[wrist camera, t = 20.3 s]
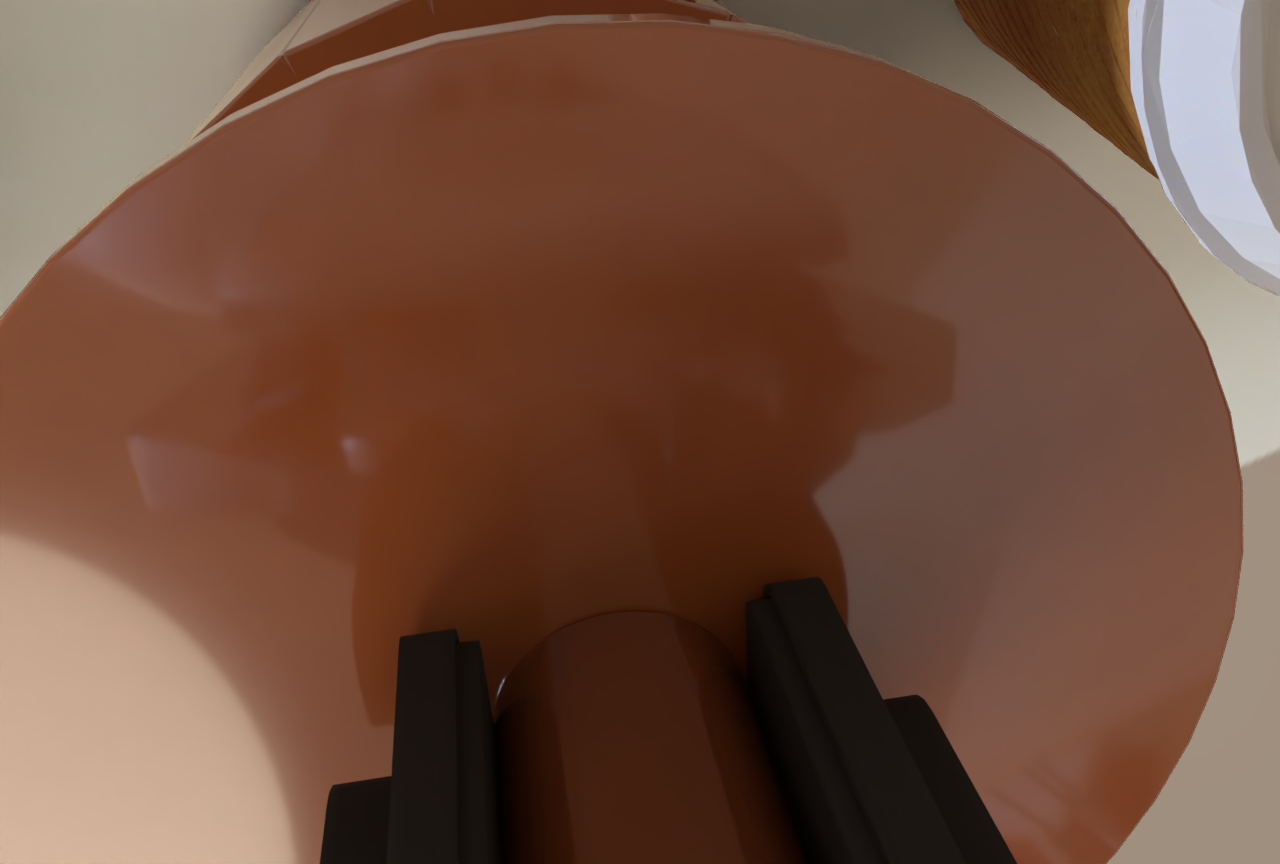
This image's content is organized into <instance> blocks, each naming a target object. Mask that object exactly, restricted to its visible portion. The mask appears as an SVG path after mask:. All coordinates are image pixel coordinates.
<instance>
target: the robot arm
mask: <svg viewBox="0 0 1280 864" xmlns="http://www.w3.org/2000/svg"><path fill="white" fill-rule="evenodd" d="M746 646H747V682H748V689H749V692H750V694H751V697H752V700H753V703H754V706H755V708H756V711H757V714H758V717H759V720H760V722H761V725H762V728H763V731H764V734H765V736H766V739H767V742H768V745H769V748H770V750H771V753H772V756H773V759H774V762H775V764H776V767H777V770H778V773H779V776H780V778H781V781H782V784H783V787H784V790H785V792H786V795H787V798H788V801H789V804H790V806H791V809H792V812H793V815H794V818H795V820H796V823H797V826H798V829H799V832H800V834H801V837H802V840H803V843H804V846H805V848H806V851H807V854H808V857H809V860H810V862H811V864H1017V862H1016V860H1015V859H1014V857H1013V855H1012V853H1011V851H1010V850H1009V848H1008V846H1007V844H1006V842H1005V841H1004V839H1003V837H1002V835H1001V833H1000V832H999V830H998V828H997V826H996V824H995V823H994V821H993V819H992V817H991V815H990V814H989V812H988V810H987V808H986V806H985V805H984V803H983V801H982V799H981V797H980V796H979V794H978V792H977V790H976V788H975V787H974V785H973V783H972V781H971V779H970V778H969V776H968V774H967V772H966V770H965V769H964V767H963V765H962V763H961V761H960V760H959V758H958V756H957V754H956V753H955V751H954V749H953V747H952V745H951V744H950V742H949V740H948V738H947V736H946V735H945V733H944V731H943V729H942V727H941V726H940V724H939V722H938V720H937V718H936V717H935V715H934V713H933V711H932V710H931V708H930V707H929V705H928V704H927V702H926V701H925V699H923V698H922V697H920V696H919V695H917V694H916V695H910V696H903V697H897V698H890V699H884V700H883V698H882V696H881V694H880V692H879V690H878V688H877V686H876V684H875V683H874V681H873V679H872V677H871V675H870V673H869V671H868V669H867V667H866V665H865V663H864V661H863V659H862V657H861V655H860V653H859V651H858V649H857V647H856V645H855V643H854V641H853V639H852V637H851V635H850V633H849V631H848V629H847V627H846V625H845V623H844V621H843V619H842V617H841V615H840V613H839V611H838V609H837V607H836V606H835V604H834V602H833V600H832V598H831V596H830V594H829V592H828V590H827V588H826V586H825V584H824V582H823V581H822V579H821V578H819V577H811V578H804V579H797V580H790V581H783V582H776V583H769V584H766V585H765V586H764V590H763V599H759V600H752V601H748V602H747V603H746ZM320 864H502V858H501V840H500V822H499V804H498V786H497V768H496V750H495V732H494V723H493V717H492V711H491V705H490V699H489V693H488V686H487V680H486V674H485V668H484V662H483V655H482V650H481V644H480V641H479V640H476V641H469V642H462V643H460V642H459V636H458V633H457V630H456V628H455V629H448V630H441V631H434V632H427V633H420V634H413V635H406V636H401V637H400V640H399V651H398V669H397V687H396V704H395V722H394V739H393V757H392V775H391V776H387V777H381V778H374V779H368V780H362V781H355V782H349V783H342V784H336V785H333V786H332V788H331V790H330V791H329V796H328V802H327V808H326V816H325V824H324V832H323V841H322V849H321V857H320Z"/></svg>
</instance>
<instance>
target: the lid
mask: <svg viewBox="0 0 1280 864" xmlns="http://www.w3.org/2000/svg"><path fill="white" fill-rule="evenodd" d="M1242 485H1243V484H1242V476H1241V471H1240V465H1239V459H1238V453H1237V447H1236V442H1235V436H1234V430H1233V424H1232V418H1231V412H1230V409H1229V407H1228V404H1227V401H1226V398H1225V395H1224V392H1223V389H1222V387H1221V384H1220V381H1219V378H1218V375H1217V372H1216V369H1215V366H1214V364H1213V361H1212V358H1211V355H1210V352H1209V349H1208V346H1207V343H1206V341H1205V339H1204V337H1203V335H1202V333H1201V331H1200V330H1199V328H1198V326H1197V324H1196V322H1195V321H1194V319H1193V317H1192V315H1191V313H1190V312H1189V310H1188V308H1187V306H1186V304H1185V302H1184V301H1183V299H1182V297H1181V295H1180V293H1179V292H1178V290H1177V288H1176V286H1175V284H1174V283H1173V281H1172V279H1171V277H1170V275H1169V273H1168V272H1167V271H1166V269H1165V268H1164V267H1163V266H1162V264H1161V263H1160V262H1159V261H1158V259H1157V258H1156V257H1155V256H1154V254H1153V253H1152V252H1151V251H1150V249H1149V248H1148V247H1147V246H1146V244H1145V243H1144V242H1143V241H1142V239H1141V238H1140V237H1139V236H1138V234H1137V233H1136V232H1135V231H1134V229H1133V228H1132V227H1131V226H1130V224H1129V223H1128V222H1127V221H1126V219H1125V218H1124V217H1123V216H1122V214H1121V213H1120V212H1119V211H1118V209H1117V208H1116V207H1115V206H1113V205H1112V204H1111V203H1110V202H1109V201H1108V200H1107V199H1106V198H1104V197H1103V196H1102V195H1101V194H1100V193H1099V192H1098V191H1097V190H1096V189H1094V188H1093V187H1092V186H1091V185H1090V184H1089V183H1088V182H1087V181H1085V180H1084V179H1083V178H1082V177H1081V176H1080V175H1079V174H1078V173H1077V172H1075V171H1074V170H1073V169H1072V168H1071V167H1070V166H1069V165H1068V164H1066V163H1065V162H1064V161H1063V160H1062V159H1061V158H1060V157H1059V156H1058V155H1056V154H1055V153H1054V152H1053V151H1052V150H1050V149H1049V148H1047V147H1046V146H1044V145H1043V144H1041V143H1039V142H1038V141H1036V140H1035V139H1033V138H1032V137H1030V136H1028V135H1027V134H1025V133H1024V132H1022V131H1021V130H1019V129H1017V128H1016V127H1014V126H1013V125H1011V124H1010V123H1008V122H1006V121H1005V120H1003V119H1002V118H1000V117H999V116H997V115H996V114H994V113H992V112H991V111H989V110H988V109H986V108H985V107H983V106H981V105H980V104H978V103H977V102H975V101H974V100H972V99H970V98H968V97H966V96H964V95H962V94H960V93H958V92H956V91H953V90H951V89H949V88H946V87H944V86H942V85H940V84H937V83H935V82H933V81H930V80H928V79H926V78H924V77H921V76H919V75H917V74H914V73H912V72H910V71H908V70H905V69H903V68H901V67H898V66H896V65H894V64H892V63H889V62H887V61H885V60H882V59H880V58H878V57H876V56H873V55H871V54H869V53H866V52H863V51H859V50H855V49H852V48H848V47H844V46H840V45H837V44H833V43H829V42H826V41H822V40H818V39H814V38H811V37H807V36H803V35H800V34H796V33H792V32H788V31H785V30H781V29H777V28H774V27H770V26H764V25H755V24H747V23H739V22H730V21H722V20H714V19H705V18H697V17H689V16H680V15H672V14H664V13H653V14H605V15H558V16H546V17H540V18H534V19H528V20H521V21H515V22H509V23H503V24H496V25H490V26H484V27H478V28H472V29H465V30H459V31H453V32H447V33H440V34H437V35H434V36H431V37H427V38H424V39H421V40H418V41H414V42H411V43H408V44H405V45H401V46H398V47H395V48H391V49H388V50H385V51H382V52H378V53H375V54H372V55H369V56H365V57H362V58H359V59H356V60H352V61H349V62H346V63H343V64H339V65H336V66H333V67H331V68H328V69H326V70H324V71H322V72H320V73H318V74H316V75H313V76H311V77H309V78H307V79H305V80H303V81H301V82H298V83H296V84H294V85H292V86H290V87H288V88H286V89H283V90H281V91H279V92H277V93H275V94H273V95H271V96H268V97H266V98H264V99H262V100H260V101H258V102H256V103H254V104H251V105H249V106H247V107H245V108H243V109H241V110H239V111H236V112H234V113H232V114H230V115H229V116H227V117H226V118H224V119H223V120H221V121H220V122H218V123H217V124H215V125H214V126H212V127H211V128H209V129H208V130H206V131H205V132H203V133H201V134H200V135H198V136H197V137H195V138H194V139H192V140H191V141H189V142H188V143H186V144H185V145H183V146H182V147H180V148H179V149H177V150H176V151H174V152H173V153H171V154H169V155H168V156H166V157H165V158H163V159H162V160H160V161H159V162H157V163H156V164H154V165H153V166H151V167H150V168H148V169H147V170H145V171H144V172H142V173H141V174H140V175H138V176H137V177H136V178H135V179H134V180H133V181H132V182H131V183H129V184H128V185H127V186H126V187H125V188H124V189H123V190H122V191H121V192H119V193H118V194H117V195H116V196H115V197H114V198H113V199H112V200H110V201H109V202H108V203H107V204H106V205H105V206H104V207H103V208H102V209H100V210H99V211H98V212H97V213H96V214H95V215H94V216H93V217H91V218H90V219H89V220H88V221H87V222H86V223H85V224H84V225H83V226H81V227H80V228H79V229H78V230H77V231H76V232H75V233H74V234H72V235H71V236H70V237H69V238H68V239H67V240H66V241H65V242H64V243H63V244H62V245H61V246H60V247H59V248H58V249H57V250H56V251H55V252H54V253H53V254H52V255H51V256H50V257H49V259H48V260H47V261H46V262H45V263H44V265H43V266H42V267H41V268H40V270H39V271H38V272H37V273H36V274H35V276H34V277H33V278H32V279H31V281H30V282H29V283H28V284H27V285H26V287H25V288H24V289H23V290H22V292H21V293H20V294H19V295H18V296H17V298H16V299H15V300H14V301H13V303H12V304H11V305H10V306H9V308H8V309H7V310H6V311H5V312H4V314H3V315H2V316H1V317H0V864H320V857H321V849H322V841H323V832H324V824H325V816H326V808H327V802H328V796H329V791H330V790H331V788H332V786H333V785H336V784H342V783H349V782H355V781H362V780H368V779H374V778H381V777H387V776H391V775H392V757H393V739H394V722H395V704H396V687H397V669H398V651H399V640H400V637H401V636H406V635H413V634H420V633H427V632H434V631H441V630H448V629H455V628H456V630H457V633H458V636H459V642H460V643H462V642H469V641H476V640H479V641H480V644H481V650H482V655H483V662H484V668H485V674H486V680H487V686H488V693H489V699H490V705H491V711H492V717H493V723H494V732H495V750H496V768H497V786H498V804H499V822H500V840H501V858H502V864H811V862H810V860H809V857H808V854H807V851H806V848H805V846H804V843H803V840H802V837H801V834H800V832H799V829H798V826H797V823H796V820H795V818H794V815H793V812H792V809H791V806H790V804H789V801H788V798H787V795H786V792H785V790H784V787H783V784H782V781H781V778H780V776H779V773H778V770H777V767H776V764H775V762H774V759H773V756H772V753H771V750H770V748H769V745H768V742H767V739H766V736H765V734H764V731H763V728H762V725H761V722H760V720H759V717H758V714H757V711H756V708H755V706H754V703H753V700H752V697H751V694H750V692H749V689H748V682H747V646H746V603H747V602H748V601H752V600H759V599H763V590H764V586H765V585H766V584H769V583H776V582H783V581H790V580H797V579H804V578H811V577H819V578H821V579H822V581H823V582H824V584H825V586H826V588H827V590H828V592H829V594H830V596H831V598H832V600H833V602H834V604H835V606H836V607H837V609H838V611H839V613H840V615H841V617H842V619H843V621H844V623H845V625H846V627H847V629H848V631H849V633H850V635H851V637H852V639H853V641H854V643H855V645H856V647H857V649H858V651H859V653H860V655H861V657H862V659H863V661H864V663H865V665H866V667H867V669H868V671H869V673H870V675H871V677H872V679H873V681H874V683H875V684H876V686H877V688H878V690H879V692H880V694H881V696H882V698H883V700H884V699H890V698H897V697H903V696H910V695H916V694H917V695H919V696H920V697H922V698H923V699H925V701H926V702H927V704H928V705H929V707H930V708H931V710H932V711H933V713H934V715H935V717H936V718H937V720H938V722H939V724H940V726H941V727H942V729H943V731H944V733H945V735H946V736H947V738H948V740H949V742H950V744H951V745H952V747H953V749H954V751H955V753H956V754H957V756H958V758H959V760H960V761H961V763H962V765H963V767H964V769H965V770H966V772H967V774H968V776H969V778H970V779H971V781H972V783H973V785H974V787H975V788H976V790H977V792H978V794H979V796H980V797H981V799H982V801H983V803H984V805H985V806H986V808H987V810H988V812H989V814H990V815H991V817H992V819H993V821H994V823H995V824H996V826H997V828H998V830H999V832H1000V833H1001V835H1002V837H1003V839H1004V841H1005V842H1006V844H1007V846H1008V848H1009V850H1010V851H1011V853H1012V855H1013V857H1014V859H1015V860H1016V862H1017V864H1107V862H1108V861H1109V860H1110V859H1111V858H1112V857H1113V856H1114V855H1115V854H1116V853H1117V851H1118V850H1119V849H1120V847H1121V846H1122V845H1123V843H1124V842H1125V841H1126V839H1127V837H1128V836H1129V835H1130V834H1131V832H1132V831H1133V830H1134V828H1135V827H1136V826H1137V824H1138V823H1139V822H1140V820H1141V819H1142V818H1143V816H1144V815H1145V813H1146V812H1147V811H1148V809H1149V808H1150V807H1151V806H1152V804H1153V803H1154V802H1155V800H1156V799H1157V797H1158V795H1159V793H1160V792H1161V790H1162V788H1163V786H1164V785H1165V783H1166V782H1167V780H1168V778H1169V776H1170V775H1171V773H1172V771H1173V769H1174V768H1175V766H1176V764H1177V763H1178V761H1179V759H1180V758H1181V756H1182V754H1183V752H1184V751H1185V749H1186V747H1187V746H1188V744H1189V742H1190V740H1191V737H1192V735H1193V733H1194V730H1195V728H1196V726H1197V723H1198V721H1199V719H1200V716H1201V714H1202V712H1203V710H1204V707H1205V705H1206V703H1207V700H1208V698H1209V696H1210V694H1211V691H1212V689H1213V687H1214V684H1215V682H1216V678H1217V675H1218V671H1219V668H1220V664H1221V661H1222V658H1223V654H1224V651H1225V647H1226V644H1227V640H1228V637H1229V633H1230V629H1231V626H1232V623H1233V619H1234V613H1235V606H1236V599H1237V592H1238V585H1239V578H1240V571H1241V563H1242V556H1243V489H1242Z"/></svg>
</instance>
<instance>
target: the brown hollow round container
mask: <svg viewBox="0 0 1280 864" xmlns="http://www.w3.org/2000/svg"><path fill="white" fill-rule="evenodd" d="M653 13H664V14H672V15H680V16H689V17H697V18H705V19H714V20H722V21H730V22H739V23H747V24H750V23H748V22H747V21H745V20H744V19H742V18H741V17H739V16H738V15H736V14H734V13H733V12H731V11H730V10H728V9H726V8H725V7H723V6H721V5H720V4H718V3H716V2H715V1H713V0H311V1H310V2H309V3H308V4H307V5H306V6H305V7H304V8H303V9H302V10H301V11H300V12H299V13H298V14H297V15H296V16H295V17H294V18H293V19H292V20H291V21H290V22H289V23H288V24H287V25H286V26H285V27H284V28H283V29H282V30H281V31H280V32H279V33H278V34H277V35H276V36H275V37H274V38H273V39H272V40H271V41H270V42H269V43H268V44H266V45H265V47H264V48H263V49H262V50H261V51H260V53H259V54H258V55H257V56H256V58H255V59H254V60H253V61H252V62H251V64H250V65H249V66H248V67H247V68H246V70H245V71H244V72H243V73H242V75H241V76H240V77H239V78H238V79H237V81H236V82H235V83H234V84H233V85H232V87H231V88H230V89H229V90H228V92H227V93H226V94H225V95H224V96H223V98H222V99H221V100H220V101H219V102H218V104H217V105H216V106H215V107H214V109H213V110H212V111H211V112H210V113H209V115H208V116H207V117H206V118H205V119H204V121H203V122H202V123H201V124H200V126H199V127H198V128H197V129H196V130H195V132H194V133H193V134H192V135H191V136H190V138H189V139H188V140H187V141H186V143H188V142H189V141H191V140H192V139H194V138H195V137H197V136H198V135H200V134H201V133H203V132H205V131H206V130H208V129H209V128H211V127H212V126H214V125H215V124H217V123H218V122H220V121H221V120H223V119H224V118H226V117H227V116H229V115H230V114H232V113H234V112H236V111H239V110H241V109H243V108H245V107H247V106H249V105H251V104H254V103H256V102H258V101H260V100H262V99H264V98H266V97H268V96H271V95H273V94H275V93H277V92H279V91H281V90H283V89H286V88H288V87H290V86H292V85H294V84H296V83H298V82H301V81H303V80H305V79H307V78H309V77H311V76H313V75H316V74H318V73H320V72H322V71H324V70H326V69H328V68H331V67H333V66H336V65H339V64H343V63H346V62H349V61H352V60H356V59H359V58H362V57H365V56H369V55H372V54H375V53H378V52H382V51H385V50H388V49H391V48H395V47H398V46H401V45H405V44H408V43H411V42H414V41H418V40H421V39H424V38H427V37H431V36H434V35H437V34H440V33H447V32H453V31H459V30H465V29H472V28H478V27H484V26H490V25H496V24H503V23H509V22H515V21H521V20H528V19H534V18H540V17H546V16H558V15H605V14H653ZM186 143H185V144H186ZM185 144H184V145H185Z"/></svg>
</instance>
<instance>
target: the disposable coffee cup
mask: <svg viewBox="0 0 1280 864" xmlns="http://www.w3.org/2000/svg"><path fill="white" fill-rule="evenodd" d="M954 1H955V4H956V5H957V7H958V9H959V11H960V13H961V15H962V17H963V19H964V21H965V22H966V24H967V25H968V26H969V27H970V28H971V30H972V31H973V32H974V33H975V34H976V36H977V37H978V38H979V39H980V40H981V42H982V43H984V44H985V45H986V46H988V47H989V48H990V49H992V50H993V51H994V52H996V53H997V54H998V55H1000V56H1001V57H1003V58H1005V59H1006V60H1007V61H1008V62H1010V63H1011V64H1012V65H1013V66H1015V67H1016V68H1017V69H1018V70H1019V71H1021V72H1022V73H1023V74H1025V75H1026V76H1027V77H1028V78H1029V79H1031V80H1032V81H1034V82H1035V83H1036V84H1038V85H1039V86H1040V87H1041V88H1042V89H1044V90H1045V91H1046V92H1047V93H1048V94H1050V95H1051V96H1052V97H1053V98H1054V99H1055V100H1057V101H1058V102H1060V103H1061V104H1062V105H1064V106H1065V107H1066V108H1068V109H1069V110H1070V111H1072V112H1073V113H1074V114H1076V115H1077V116H1078V117H1080V118H1081V119H1082V120H1084V121H1085V122H1086V123H1087V124H1088V125H1089V126H1090V127H1091V128H1093V129H1094V130H1095V131H1097V132H1098V133H1099V134H1101V135H1102V136H1103V137H1105V138H1106V139H1108V140H1109V141H1110V142H1111V143H1113V144H1114V145H1115V146H1116V147H1117V148H1118V149H1120V150H1121V151H1122V152H1123V153H1124V154H1126V155H1127V156H1129V157H1130V158H1131V159H1133V160H1134V161H1135V162H1137V163H1138V164H1139V165H1140V166H1141V167H1142V168H1144V169H1145V170H1147V171H1148V172H1149V173H1151V174H1152V175H1153V176H1155V177H1156V178H1158V179H1159V180H1160V182H1161V184H1162V187H1163V189H1164V192H1165V194H1166V196H1167V197H1168V198H1169V200H1170V201H1171V203H1172V204H1173V205H1174V207H1175V208H1176V210H1177V211H1178V212H1179V214H1180V215H1181V217H1182V218H1183V219H1184V221H1185V222H1186V224H1187V225H1188V226H1189V228H1190V229H1191V231H1192V232H1193V233H1194V235H1195V236H1196V238H1197V239H1198V240H1199V242H1200V243H1201V245H1202V246H1203V247H1204V249H1205V250H1206V251H1208V252H1209V253H1210V254H1212V255H1213V256H1214V257H1216V258H1217V259H1218V260H1220V261H1221V262H1222V263H1224V264H1225V265H1226V266H1228V267H1229V268H1230V269H1232V270H1233V271H1234V272H1236V273H1237V274H1238V275H1240V276H1241V277H1242V278H1244V279H1245V280H1246V281H1248V282H1249V283H1252V284H1254V285H1256V286H1258V287H1260V288H1262V289H1264V290H1266V291H1269V292H1271V293H1273V294H1275V295H1277V296H1279V297H1280V0H954Z"/></svg>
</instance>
